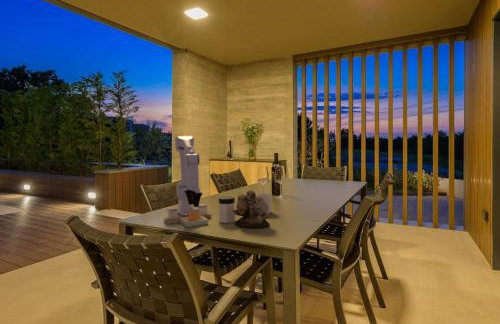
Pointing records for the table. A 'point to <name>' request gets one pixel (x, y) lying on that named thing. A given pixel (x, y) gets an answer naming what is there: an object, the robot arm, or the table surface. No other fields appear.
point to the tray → (199, 222)
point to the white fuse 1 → (172, 213)
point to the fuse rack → (182, 217)
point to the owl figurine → (251, 211)
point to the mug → (266, 200)
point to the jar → (226, 209)
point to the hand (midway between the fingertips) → (193, 205)
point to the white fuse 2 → (202, 209)
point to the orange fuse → (193, 214)
